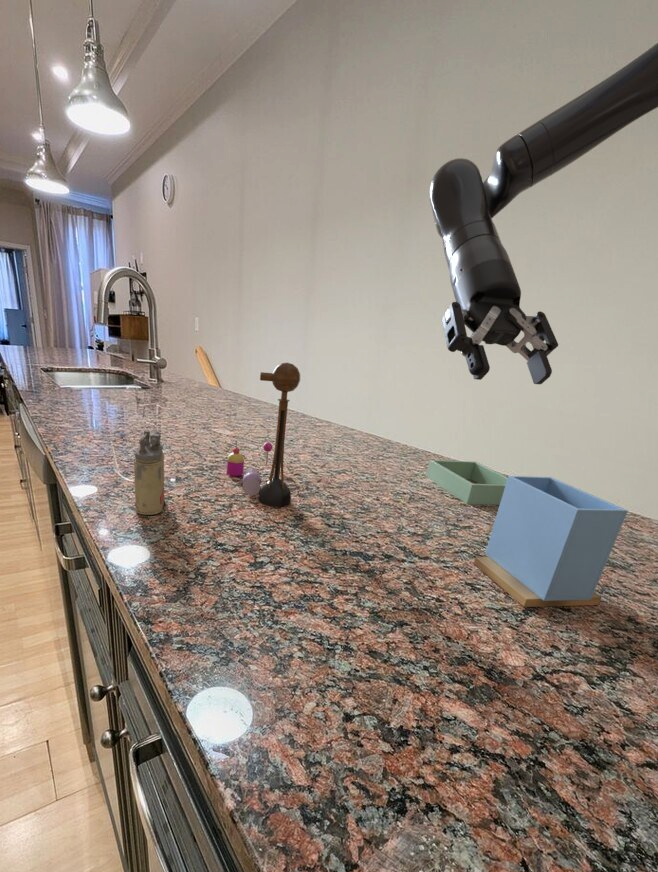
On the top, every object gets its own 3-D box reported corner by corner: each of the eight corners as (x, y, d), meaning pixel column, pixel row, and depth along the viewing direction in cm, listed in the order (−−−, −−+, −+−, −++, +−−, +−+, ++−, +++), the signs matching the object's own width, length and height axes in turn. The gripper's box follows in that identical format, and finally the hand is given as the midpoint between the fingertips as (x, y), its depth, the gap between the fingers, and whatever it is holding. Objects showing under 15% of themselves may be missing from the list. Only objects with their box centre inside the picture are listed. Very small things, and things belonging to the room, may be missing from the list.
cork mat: (538, 563, 55) (541, 556, 55) (598, 605, 47) (602, 597, 47) (473, 563, 54) (475, 556, 53) (523, 607, 45) (526, 599, 45)
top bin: (525, 553, 55) (551, 477, 51) (591, 599, 46) (628, 510, 42) (484, 554, 54) (508, 475, 50) (543, 601, 45) (578, 509, 41)
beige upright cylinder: (160, 516, 59) (159, 441, 55) (131, 515, 58) (127, 440, 54) (165, 497, 65) (165, 429, 61) (138, 496, 65) (136, 427, 61)
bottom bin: (469, 487, 82) (476, 461, 80) (516, 516, 70) (526, 486, 68) (423, 486, 81) (429, 459, 79) (463, 515, 69) (472, 484, 67)
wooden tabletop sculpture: (252, 506, 65) (262, 361, 57) (251, 494, 69) (260, 359, 61) (292, 507, 65) (307, 365, 58) (288, 496, 70) (302, 362, 62)
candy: (275, 497, 69) (278, 459, 67) (223, 494, 68) (224, 455, 66) (270, 464, 85) (273, 432, 83) (228, 461, 85) (230, 429, 83)
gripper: (450, 250, 56) (480, 352, 50) (547, 263, 59) (587, 361, 53) (421, 298, 63) (445, 393, 57) (510, 308, 66) (541, 399, 60)
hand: (513, 377), depth 55 cm, fingers open, 8 cm apart
